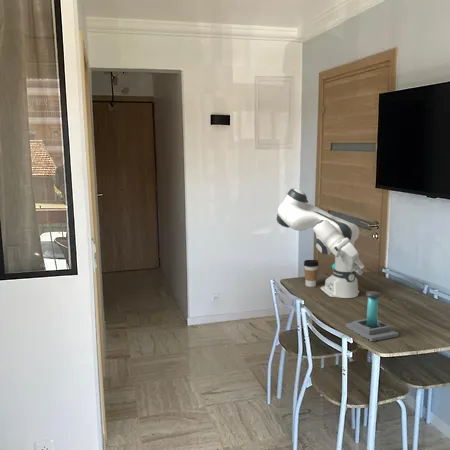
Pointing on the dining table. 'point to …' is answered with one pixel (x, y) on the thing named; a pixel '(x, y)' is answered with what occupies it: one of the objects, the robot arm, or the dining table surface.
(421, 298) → the dining table surface
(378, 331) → the board
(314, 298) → the dining table surface
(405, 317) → the dining table surface
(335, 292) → the robot arm
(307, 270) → the coffee cup
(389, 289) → the dining table surface
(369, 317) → the teal and grey rod
